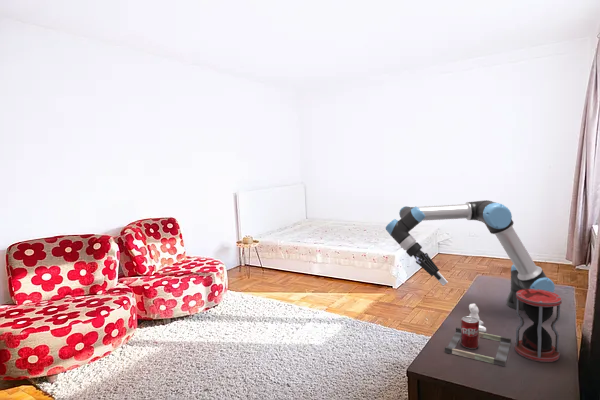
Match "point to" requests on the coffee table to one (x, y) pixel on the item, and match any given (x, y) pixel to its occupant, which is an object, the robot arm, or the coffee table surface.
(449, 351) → the square frame
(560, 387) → the coffee table surface
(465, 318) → the soda can
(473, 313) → the white creature statuette
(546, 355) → the hourglass
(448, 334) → the coffee table surface
